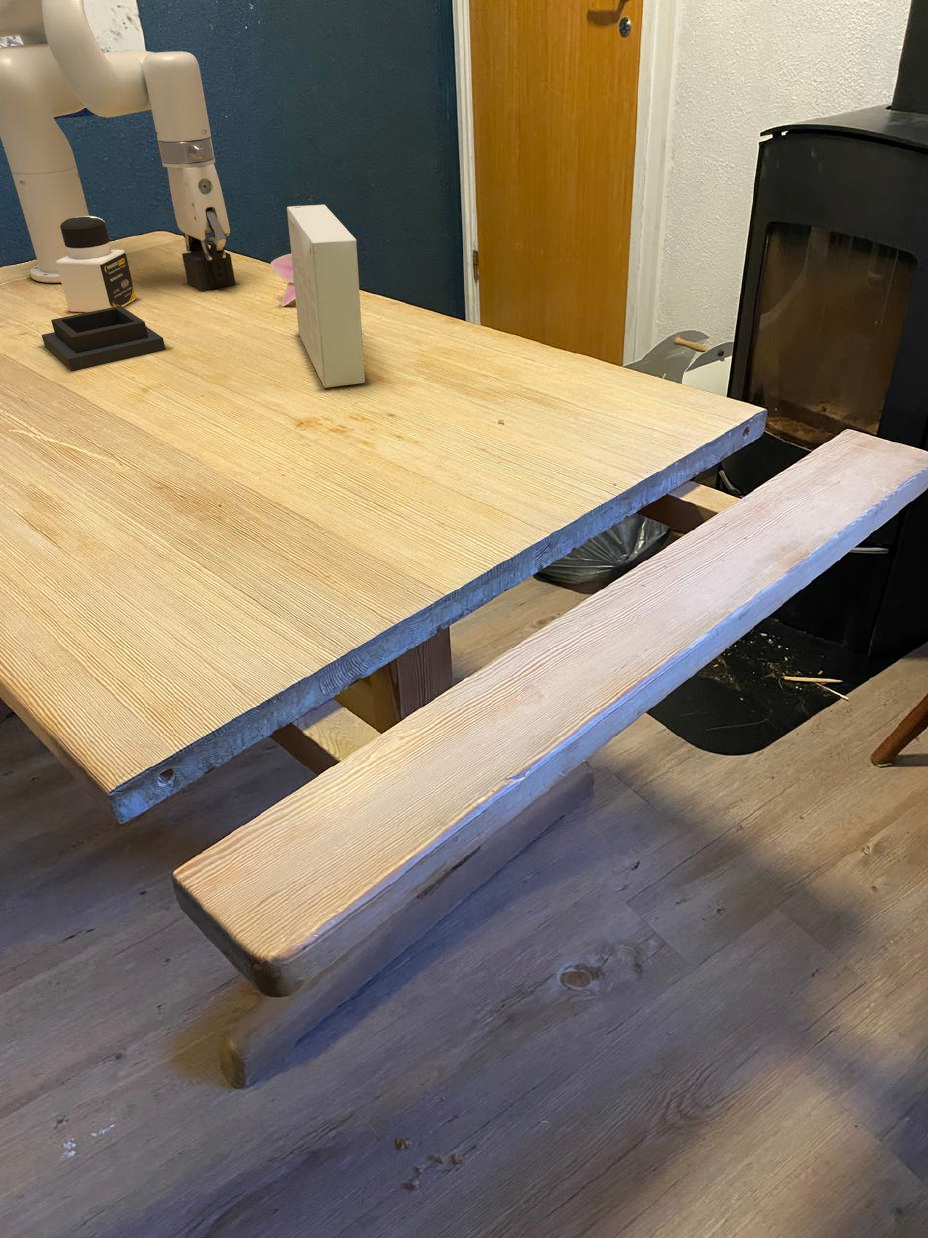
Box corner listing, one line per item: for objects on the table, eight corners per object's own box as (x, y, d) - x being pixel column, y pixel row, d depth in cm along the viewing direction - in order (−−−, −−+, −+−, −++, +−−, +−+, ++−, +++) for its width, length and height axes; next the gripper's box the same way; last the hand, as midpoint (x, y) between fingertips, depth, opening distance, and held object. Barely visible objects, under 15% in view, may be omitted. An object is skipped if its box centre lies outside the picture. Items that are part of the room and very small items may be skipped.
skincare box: (370, 384, 104) (357, 238, 95) (324, 390, 103) (306, 243, 94) (338, 329, 121) (325, 201, 112) (298, 334, 120) (281, 204, 111)
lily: (275, 301, 136) (247, 250, 128) (341, 259, 137) (317, 207, 128) (307, 346, 130) (280, 296, 122) (376, 302, 131) (354, 250, 122)
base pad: (44, 345, 119) (36, 319, 117) (133, 326, 124) (127, 300, 122) (71, 370, 111) (63, 342, 109) (165, 349, 116) (159, 321, 114)
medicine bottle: (113, 313, 130) (90, 224, 123) (68, 312, 131) (43, 223, 124) (137, 299, 135) (117, 213, 128) (94, 297, 137) (72, 212, 130)
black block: (187, 283, 142) (181, 253, 139) (221, 277, 144) (215, 247, 142) (201, 291, 138) (195, 260, 135) (235, 284, 140) (230, 253, 138)
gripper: (236, 156, 126) (257, 288, 137) (189, 143, 138) (211, 266, 148) (185, 162, 123) (210, 298, 133) (141, 149, 134) (167, 275, 145)
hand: (211, 280), depth 141 cm, fingers closed on black block, 5 cm apart
